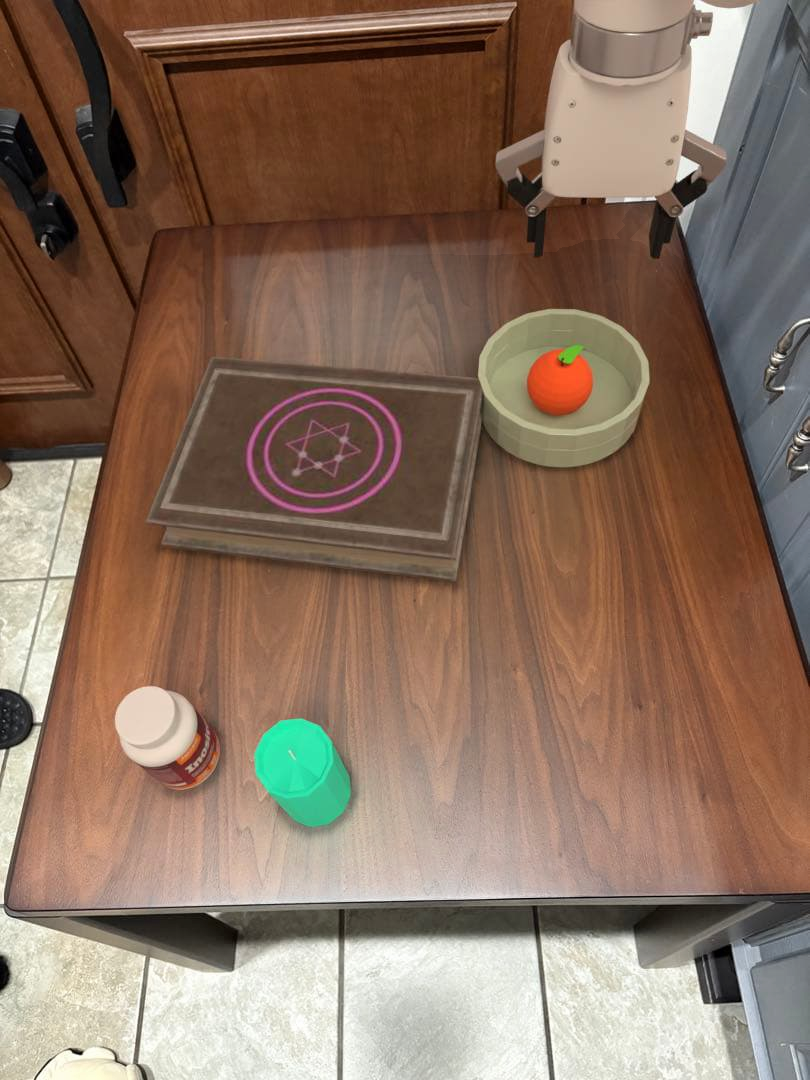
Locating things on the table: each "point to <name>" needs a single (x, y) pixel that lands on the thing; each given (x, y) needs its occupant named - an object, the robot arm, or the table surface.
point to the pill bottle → (167, 737)
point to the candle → (303, 772)
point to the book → (325, 467)
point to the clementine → (560, 381)
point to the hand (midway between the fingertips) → (595, 247)
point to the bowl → (593, 424)
